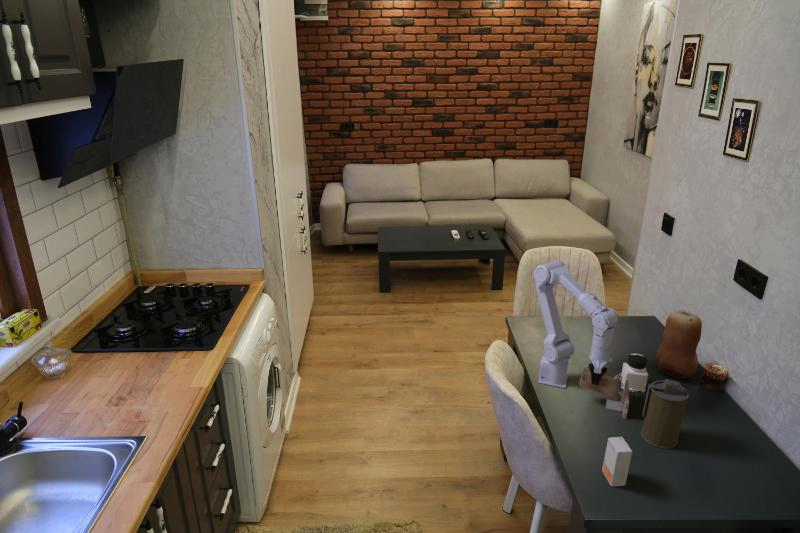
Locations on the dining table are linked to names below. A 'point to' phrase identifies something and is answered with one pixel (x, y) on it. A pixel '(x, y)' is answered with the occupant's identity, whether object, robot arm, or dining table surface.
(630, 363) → the medicine bottle
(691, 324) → the butternut squash
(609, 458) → the skincare box
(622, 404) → the bracket
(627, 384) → the wall plate
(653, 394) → the canister
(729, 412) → the dining table surface
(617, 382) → the brown wooden block
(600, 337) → the robot arm
